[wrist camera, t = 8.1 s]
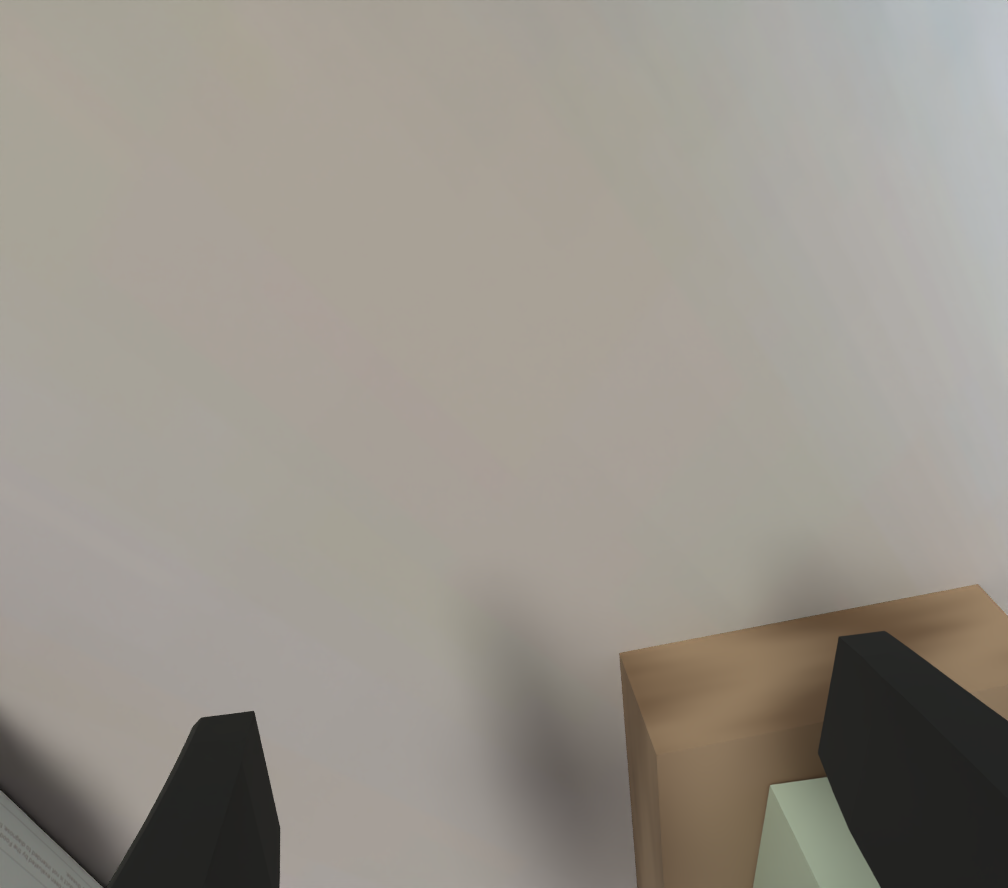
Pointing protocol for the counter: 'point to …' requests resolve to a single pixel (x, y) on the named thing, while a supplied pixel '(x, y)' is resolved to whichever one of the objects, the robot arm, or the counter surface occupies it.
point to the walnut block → (766, 722)
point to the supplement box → (34, 855)
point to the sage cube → (808, 841)
